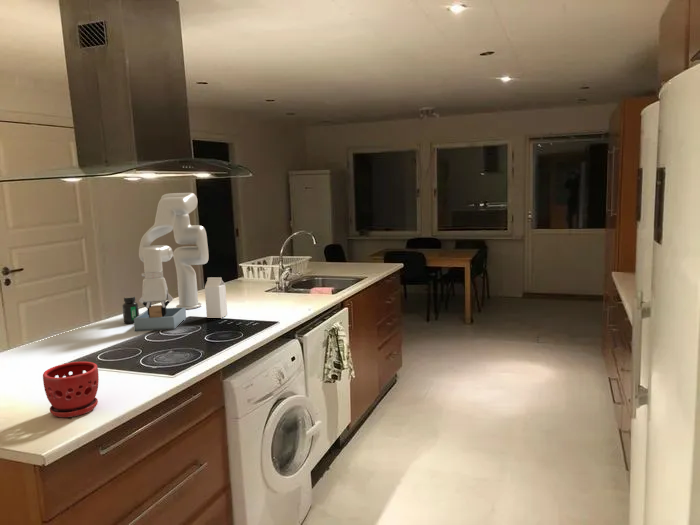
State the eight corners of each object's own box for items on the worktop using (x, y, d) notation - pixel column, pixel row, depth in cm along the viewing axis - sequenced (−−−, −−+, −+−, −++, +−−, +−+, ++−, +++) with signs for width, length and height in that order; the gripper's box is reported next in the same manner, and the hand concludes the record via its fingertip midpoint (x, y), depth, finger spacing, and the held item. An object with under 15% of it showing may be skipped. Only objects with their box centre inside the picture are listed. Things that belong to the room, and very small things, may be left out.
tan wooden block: (153, 316, 240) (152, 305, 239) (164, 315, 240) (164, 304, 240) (150, 318, 235) (149, 307, 234) (161, 318, 235) (160, 307, 235)
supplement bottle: (138, 323, 247) (135, 297, 246) (122, 324, 246) (120, 299, 244) (140, 320, 254) (138, 295, 252) (125, 321, 253) (123, 296, 251)
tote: (149, 320, 252) (148, 309, 252) (186, 318, 253) (185, 307, 252) (134, 331, 232) (133, 318, 232) (174, 329, 233) (173, 316, 233)
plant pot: (36, 417, 142) (30, 373, 140) (78, 399, 154) (74, 359, 152) (70, 424, 136) (65, 379, 135) (112, 405, 148) (108, 363, 147)
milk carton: (221, 319, 250) (218, 278, 247) (206, 318, 251) (203, 278, 249) (227, 315, 256) (224, 276, 254) (213, 315, 258) (210, 276, 255)
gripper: (131, 277, 231) (135, 319, 233) (171, 275, 232) (174, 317, 234) (137, 275, 239) (140, 315, 241) (176, 273, 239) (179, 313, 242)
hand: (157, 315), depth 237 cm, fingers closed on tan wooden block, 4 cm apart
